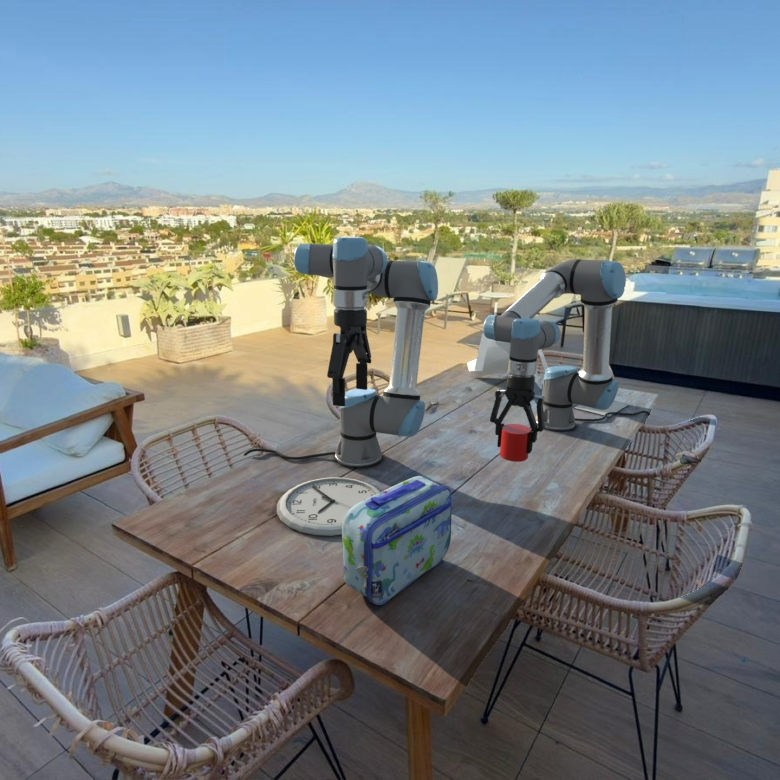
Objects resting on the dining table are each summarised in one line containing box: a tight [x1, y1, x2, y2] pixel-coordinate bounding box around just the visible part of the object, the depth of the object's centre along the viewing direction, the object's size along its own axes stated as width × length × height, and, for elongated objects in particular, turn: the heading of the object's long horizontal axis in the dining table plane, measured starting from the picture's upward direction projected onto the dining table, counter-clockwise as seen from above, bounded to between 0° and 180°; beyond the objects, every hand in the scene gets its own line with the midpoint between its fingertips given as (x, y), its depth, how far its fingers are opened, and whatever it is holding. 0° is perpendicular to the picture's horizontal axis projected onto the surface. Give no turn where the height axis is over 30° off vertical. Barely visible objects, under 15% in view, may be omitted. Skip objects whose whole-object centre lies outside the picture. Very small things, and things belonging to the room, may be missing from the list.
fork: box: [425, 396, 439, 412], centre depth 222 cm, size 3×16×2 cm, turn 160°
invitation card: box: [573, 400, 629, 418], centre depth 226 cm, size 21×1×15 cm
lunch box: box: [341, 475, 453, 606], centre depth 111 cm, size 26×11×21 cm, turn 134°
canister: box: [499, 423, 531, 463], centre depth 153 cm, size 8×8×9 cm
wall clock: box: [276, 476, 382, 537], centre depth 142 cm, size 30×2×30 cm
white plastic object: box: [466, 332, 549, 390], centre depth 259 cm, size 37×45×31 cm
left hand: (350, 396), depth 125 cm, fingers open, 13 cm apart
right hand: (514, 448), depth 154 cm, fingers closed on canister, 8 cm apart
